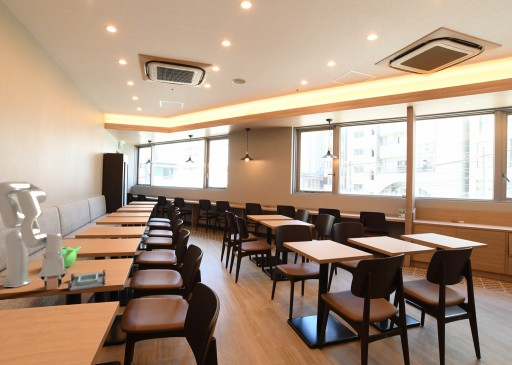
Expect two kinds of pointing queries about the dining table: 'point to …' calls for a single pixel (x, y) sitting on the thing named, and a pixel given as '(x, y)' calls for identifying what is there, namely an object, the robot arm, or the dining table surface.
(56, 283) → the terracotta rectangular box
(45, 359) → the dining table surface
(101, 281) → the chassis
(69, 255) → the toy bird
